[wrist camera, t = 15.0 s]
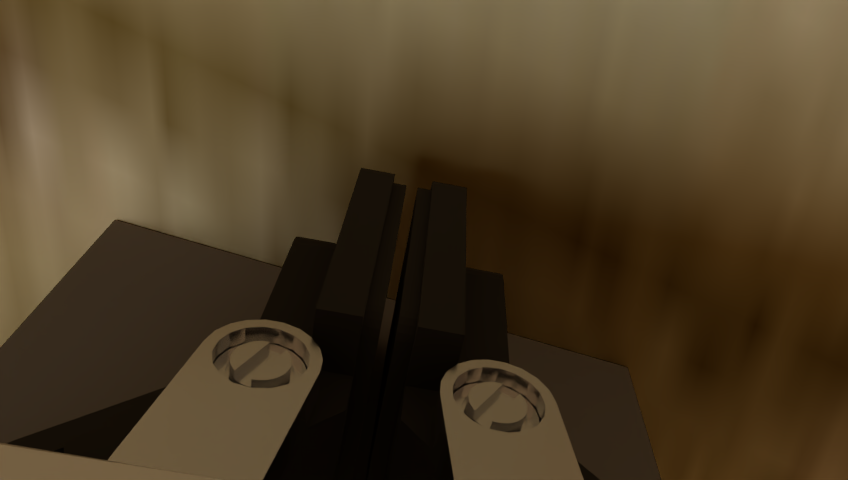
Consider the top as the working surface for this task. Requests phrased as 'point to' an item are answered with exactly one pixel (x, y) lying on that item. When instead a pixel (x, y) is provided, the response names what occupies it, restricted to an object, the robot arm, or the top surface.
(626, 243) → the top surface
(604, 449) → the doorstop block
